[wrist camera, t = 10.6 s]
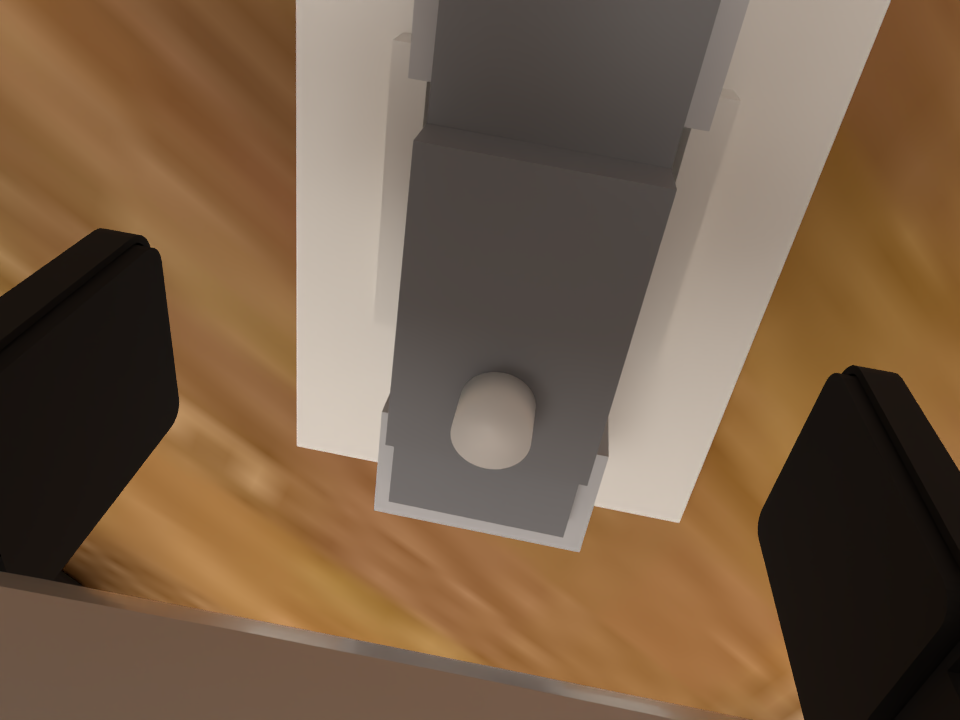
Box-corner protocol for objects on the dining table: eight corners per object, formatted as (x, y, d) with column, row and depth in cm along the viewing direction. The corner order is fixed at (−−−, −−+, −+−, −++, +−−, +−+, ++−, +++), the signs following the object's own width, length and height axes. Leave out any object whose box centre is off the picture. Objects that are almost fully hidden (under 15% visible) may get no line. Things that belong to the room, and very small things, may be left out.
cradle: (314, -318, 14) (172, -424, 9) (958, -218, 13) (1144, -279, 9) (307, 426, 24) (238, 551, 19) (676, 500, 23) (694, 647, 18)
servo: (488, -66, 15) (414, -43, 9) (686, -32, 14) (745, 15, 9) (431, 379, 21) (364, 569, 15) (571, 407, 20) (558, 611, 15)
